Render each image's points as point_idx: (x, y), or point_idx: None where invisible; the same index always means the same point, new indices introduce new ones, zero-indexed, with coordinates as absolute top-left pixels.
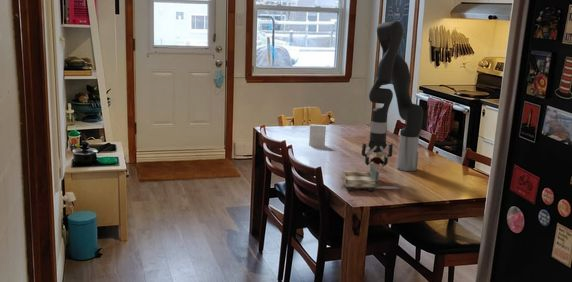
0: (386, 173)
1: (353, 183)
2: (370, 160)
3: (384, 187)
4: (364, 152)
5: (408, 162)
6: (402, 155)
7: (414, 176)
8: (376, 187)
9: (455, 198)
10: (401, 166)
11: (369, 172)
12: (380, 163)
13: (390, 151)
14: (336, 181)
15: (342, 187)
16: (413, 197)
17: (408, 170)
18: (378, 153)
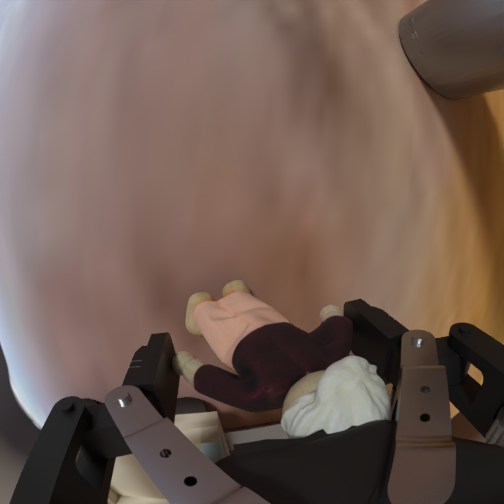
0: (340, 139)
1: (141, 499)
2: (195, 386)
3: (278, 435)
4: (101, 483)
5: (479, 87)
6: (482, 50)
7: (462, 191)
8: (239, 443)
9: (458, 410)
10: (432, 68)
11: (198, 446)
12: (313, 334)
13: (473, 412)
14: (42, 379)
15: None
16: None
17: (449, 97)
18: None
